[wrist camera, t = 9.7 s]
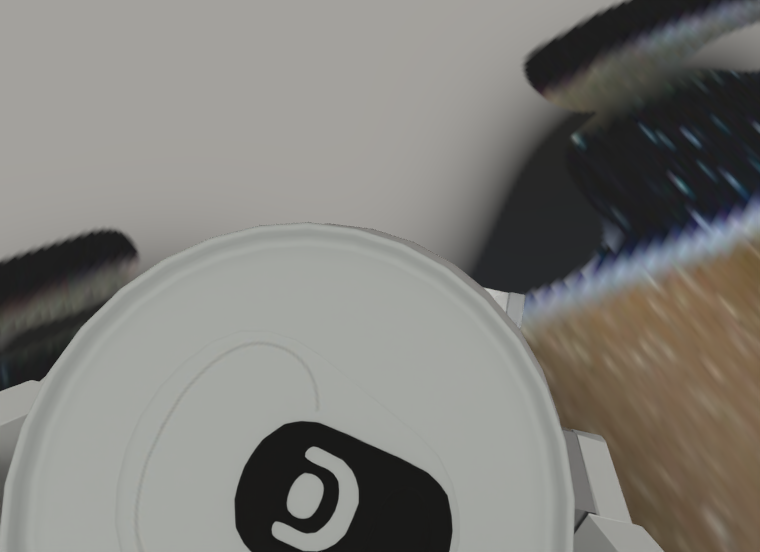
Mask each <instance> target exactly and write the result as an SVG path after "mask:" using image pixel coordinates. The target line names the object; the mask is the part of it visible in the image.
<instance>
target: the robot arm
mask: <svg viewBox="0 0 760 552" xmlns="http://www.w3.org/2000/svg"><path fill="white" fill-rule="evenodd" d="M45 378H46V376H45V377H44V378H43V379H42V380H41V381H40V382H38V381H33V380H30V381H27V382H25V383H22V384H19V385H17V386H14V387H11V388H9V389H6V390H3V391H1V392H0V524H1V515H2V505H3V496H4V487H5V482H6V478H7V475H8V472H9V468H10V465H11V461H12V458H13V455H14V451H15V448H16V444H17V441H18V438H19V434H20V431H21V427H22V425H23V423H24V421H25V419H26V417H27V415H28V413H29V411H30V408H31V406H32V404H33V402H34V400H35V398H36V396H37V394H38V392H39V390H40V388H41V386H42V384H43V382H44V380H45ZM561 428H562V431H563V434H564V437H565V440H566V445H567V452H568V458H569V464H570V471H571V477H572V484H573V490H574V496H575V515H574V552H664V551H663V550H662V548H661V547H660V546H659V545H658V544H657V543H656V542H655V541H654V539H653V538H652V537H651V536H650V535H649V534H648V533H647V532H646V530H645V529H644V528H643V527H642V526H639V525H635V524H632V521H631V518H630V515H629V512H628V509H627V505H626V502H625V499H624V496H623V493H622V490H621V487H620V484H619V481H618V478H617V475H616V472H615V469H614V466H613V463H612V459H611V456H610V453H609V450H608V447H607V444H606V441H605V440H604V439H603V437H602V436H601V435H596V434H592V433H587V432H583V431H578V430H574V429H572V430H570V429H569V428H565V427H561Z"/></svg>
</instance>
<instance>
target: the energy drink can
mask: <svg viewBox="0 0 760 552" xmlns="http://www.w3.org/2000/svg"><path fill="white" fill-rule="evenodd" d="M574 515H575V496H574V490H573V484H572V477H571V471H570V464H569V458H568V452H567V445H566V440H565V437H564V434H563V431H562V428H561V425H560V420H559V416H558V413H557V410H556V407H555V404H554V401H553V398H552V396H551V393H550V390H549V387H548V384H547V381H546V378H545V375H544V372H543V370H542V368H541V366H540V365H539V363H538V361H537V359H536V358H535V356H534V354H533V352H532V350H531V349H530V347H529V345H528V343H527V342H526V340H525V338H524V336H523V335H522V333H521V331H520V329H519V328H518V327H517V325H516V324H515V323H514V322H513V321H512V320H511V318H510V317H509V316H508V315H507V314H506V312H505V311H504V310H503V309H502V308H501V306H500V305H499V304H498V303H497V302H496V301H495V299H494V298H493V297H492V296H491V295H490V293H489V292H488V291H486V290H485V289H484V288H482V287H481V286H480V285H479V284H478V283H476V282H475V281H474V280H473V279H472V278H470V277H469V276H468V275H467V274H465V273H464V272H463V271H462V270H460V269H459V268H458V267H457V266H456V265H454V264H453V263H451V262H449V261H448V260H446V259H444V258H442V257H440V256H438V255H437V254H434V253H433V252H431V251H429V250H427V249H425V248H424V247H422V246H420V245H418V244H416V243H414V242H411V241H408V240H405V239H402V238H399V237H396V236H392V235H389V234H386V233H383V232H380V231H377V230H374V229H368V228H360V227H352V226H343V225H336V224H317V223H294V224H277V225H261V226H257V227H252V228H248V229H245V230H240V231H236V232H232V233H228V234H224V235H220V236H216V237H212V238H210V239H207V240H205V241H203V242H201V243H199V244H196V245H194V246H192V247H190V248H188V249H185V250H183V251H181V252H179V253H176V254H174V255H172V256H170V257H168V258H165V259H164V260H162V261H161V262H159V263H158V264H156V265H155V266H153V267H152V268H151V269H149V270H148V271H146V272H145V273H143V274H142V275H140V276H139V277H137V278H136V279H134V280H133V281H131V282H130V283H129V284H127V285H126V286H124V287H123V288H121V289H120V290H119V291H118V292H117V293H116V294H115V295H114V296H113V297H112V298H111V299H110V300H109V301H108V302H107V303H106V304H105V305H104V306H103V307H102V308H101V309H100V310H99V311H97V312H96V313H95V314H94V315H93V317H91V319H89V320H88V321H87V322H86V323H85V324H84V325H83V326H82V327H81V328H80V330H79V331H78V332H77V334H76V335H75V337H74V338H73V339H72V341H71V342H70V343H69V345H68V346H67V348H66V349H65V350H64V352H63V353H62V354H61V356H60V357H59V359H58V360H57V361H56V363H55V364H54V365H53V367H52V368H51V370H50V371H49V372H48V374H47V376H46V378H45V380H44V382H43V384H42V386H41V388H40V390H39V392H38V394H37V396H36V398H35V400H34V402H33V404H32V406H31V408H30V411H29V413H28V415H27V417H26V419H25V421H24V423H23V425H22V427H21V431H20V434H19V438H18V441H17V444H16V448H15V451H14V455H13V458H12V461H11V465H10V468H9V472H8V475H7V478H6V482H5V487H4V496H3V505H2V515H1V524H0V552H574Z"/></svg>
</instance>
